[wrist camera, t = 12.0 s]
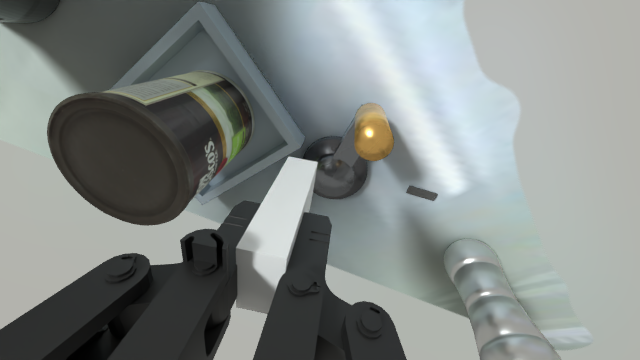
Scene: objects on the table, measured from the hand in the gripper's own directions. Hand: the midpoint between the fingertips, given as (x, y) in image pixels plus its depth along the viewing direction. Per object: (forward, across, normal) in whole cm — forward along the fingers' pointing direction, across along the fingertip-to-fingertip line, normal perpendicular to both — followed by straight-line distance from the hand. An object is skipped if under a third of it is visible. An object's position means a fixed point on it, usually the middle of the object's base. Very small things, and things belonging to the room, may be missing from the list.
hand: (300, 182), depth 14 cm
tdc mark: (+18, +13, -9) cm, 24 cm away
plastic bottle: (+18, +22, -16) cm, 33 cm away
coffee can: (+17, -14, -4) cm, 22 cm away
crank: (+16, +3, -4) cm, 17 cm away
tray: (+18, -14, -4) cm, 23 cm away
